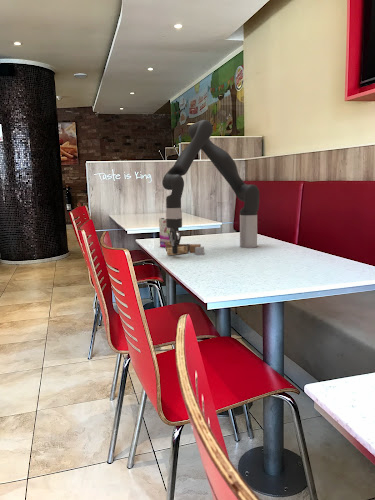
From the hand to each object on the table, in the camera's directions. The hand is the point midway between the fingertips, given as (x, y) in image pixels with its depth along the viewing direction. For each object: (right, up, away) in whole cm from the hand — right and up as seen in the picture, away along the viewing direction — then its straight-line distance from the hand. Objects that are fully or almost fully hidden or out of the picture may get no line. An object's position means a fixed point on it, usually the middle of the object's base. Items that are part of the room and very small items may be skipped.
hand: (174, 253), depth 204 cm
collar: (+12, 0, +7) cm, 14 cm away
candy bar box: (-4, +3, +31) cm, 31 cm away
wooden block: (+4, +1, +14) cm, 15 cm away
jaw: (+1, 0, +7) cm, 7 cm away
